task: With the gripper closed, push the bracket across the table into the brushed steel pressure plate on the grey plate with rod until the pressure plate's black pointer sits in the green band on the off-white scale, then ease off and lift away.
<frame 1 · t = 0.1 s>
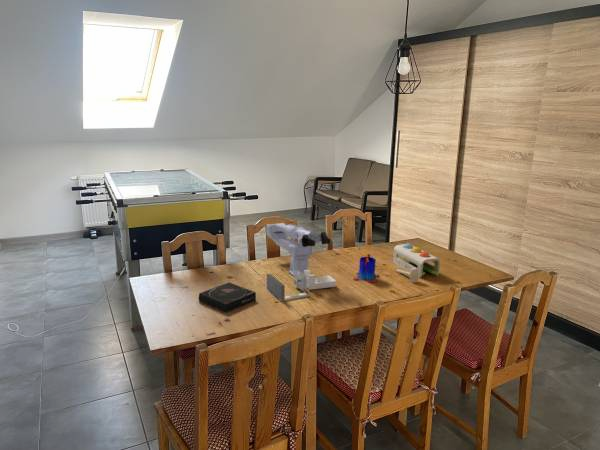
hand: (322, 242, 202), 22 cm above the table, tool horizontal, fingers open, 7 cm apart
pound a ball toy: (411, 272, 231), on the table
gauge plate: (299, 281, 202), point 5 cm above the table, slide at 0.0 cm
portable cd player: (227, 301, 193), on the table
bracket: (319, 287, 209), on the table
fantasy tower: (366, 278, 221), on the table
grey plate with rod: (287, 292, 202), on the table
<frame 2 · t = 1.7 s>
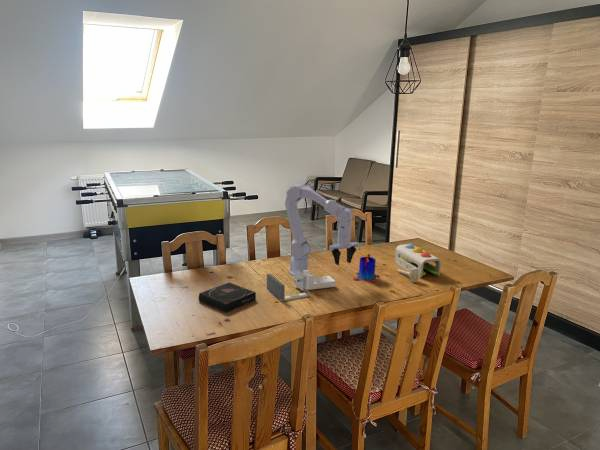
hand: (342, 263, 212), 9 cm above the table, tool pointing down, fingers open, 6 cm apart
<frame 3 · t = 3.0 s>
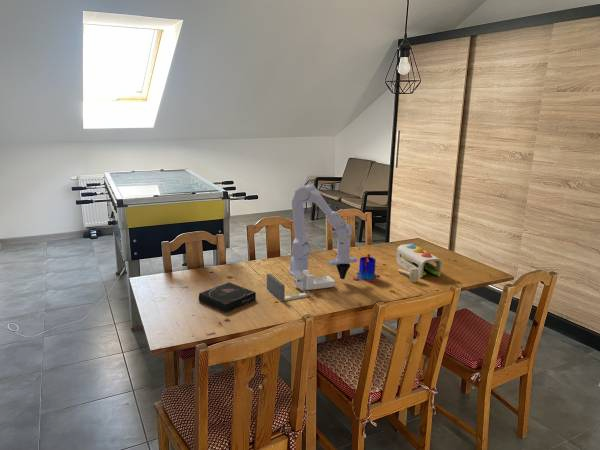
hand: (342, 278, 214), 2 cm above the table, tool pointing down, fingers closed
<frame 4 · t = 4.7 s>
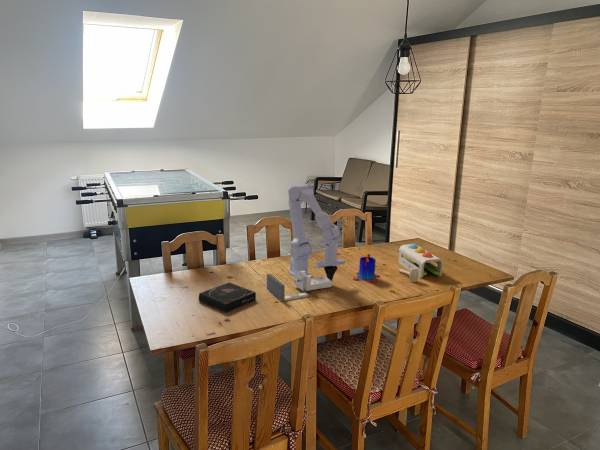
hand: (329, 280, 211), 2 cm above the table, tool pointing down, fingers closed
bracket: (315, 288, 208), on the table, touching gripper
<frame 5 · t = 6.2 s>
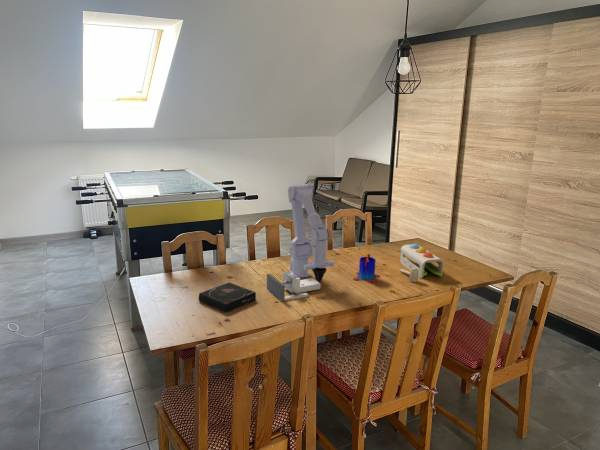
hand: (318, 282, 209), 2 cm above the table, tool pointing down, fingers closed
gauge plate: (288, 283, 200), point 5 cm above the table, slide at 5.4 cm
bracket: (303, 290, 205), on the table
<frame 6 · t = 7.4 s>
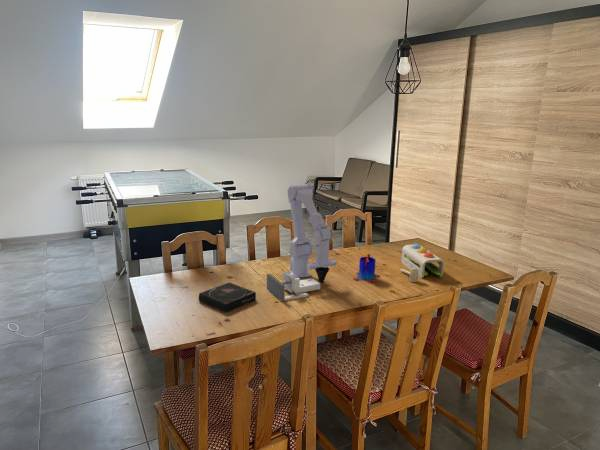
hand: (321, 282, 209), 2 cm above the table, tool pointing down, fingers closed
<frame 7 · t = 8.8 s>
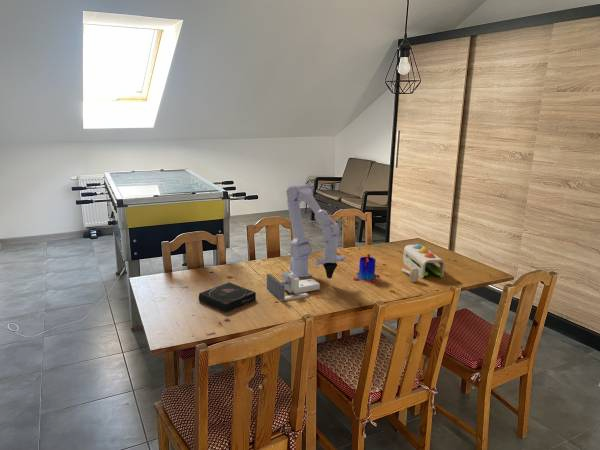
hand: (329, 277, 211), 3 cm above the table, tool pointing down, fingers closed
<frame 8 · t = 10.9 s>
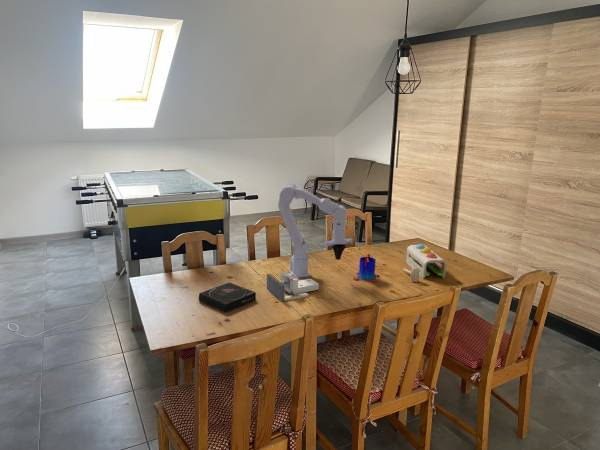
hand: (337, 259, 218), 9 cm above the table, tool pointing down, fingers closed
pound a ball toy: (419, 272, 231), on the table
gauge plate: (286, 283, 199), point 5 cm above the table, slide at 6.5 cm
at the end: gauge plate slide at 6.5 cm; bracket tilted 0°; the gripper is holding nothing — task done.
